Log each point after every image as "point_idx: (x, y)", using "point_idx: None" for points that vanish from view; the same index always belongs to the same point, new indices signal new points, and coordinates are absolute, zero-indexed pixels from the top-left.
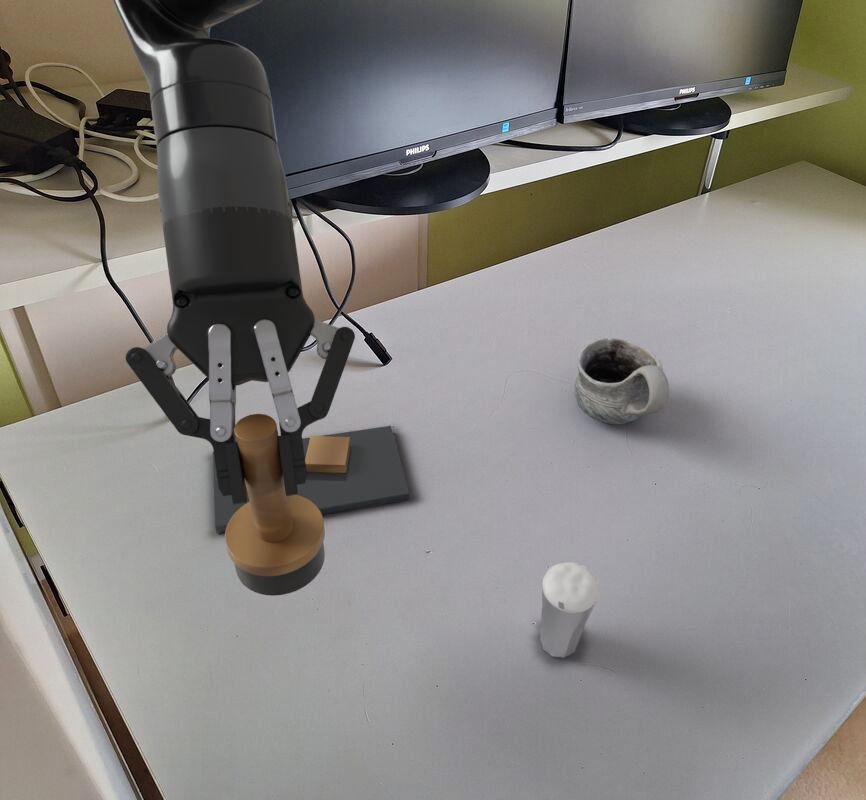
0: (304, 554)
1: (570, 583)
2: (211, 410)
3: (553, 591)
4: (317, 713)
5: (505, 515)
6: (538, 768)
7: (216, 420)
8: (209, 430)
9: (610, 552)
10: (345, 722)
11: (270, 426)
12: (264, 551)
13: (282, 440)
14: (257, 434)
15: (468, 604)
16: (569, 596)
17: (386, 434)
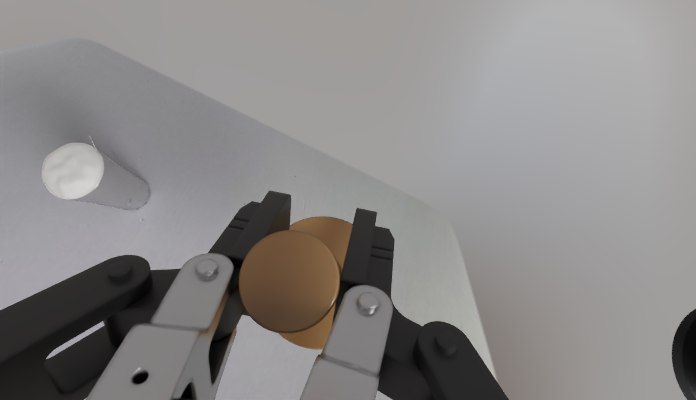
0: (300, 222)
1: (68, 162)
2: (378, 355)
3: (90, 166)
4: None
5: None
6: (210, 114)
7: (372, 330)
8: (391, 330)
9: (27, 256)
10: (321, 207)
11: (254, 266)
12: (344, 247)
13: (247, 252)
14: (291, 250)
15: (181, 263)
16: (80, 153)
17: None
